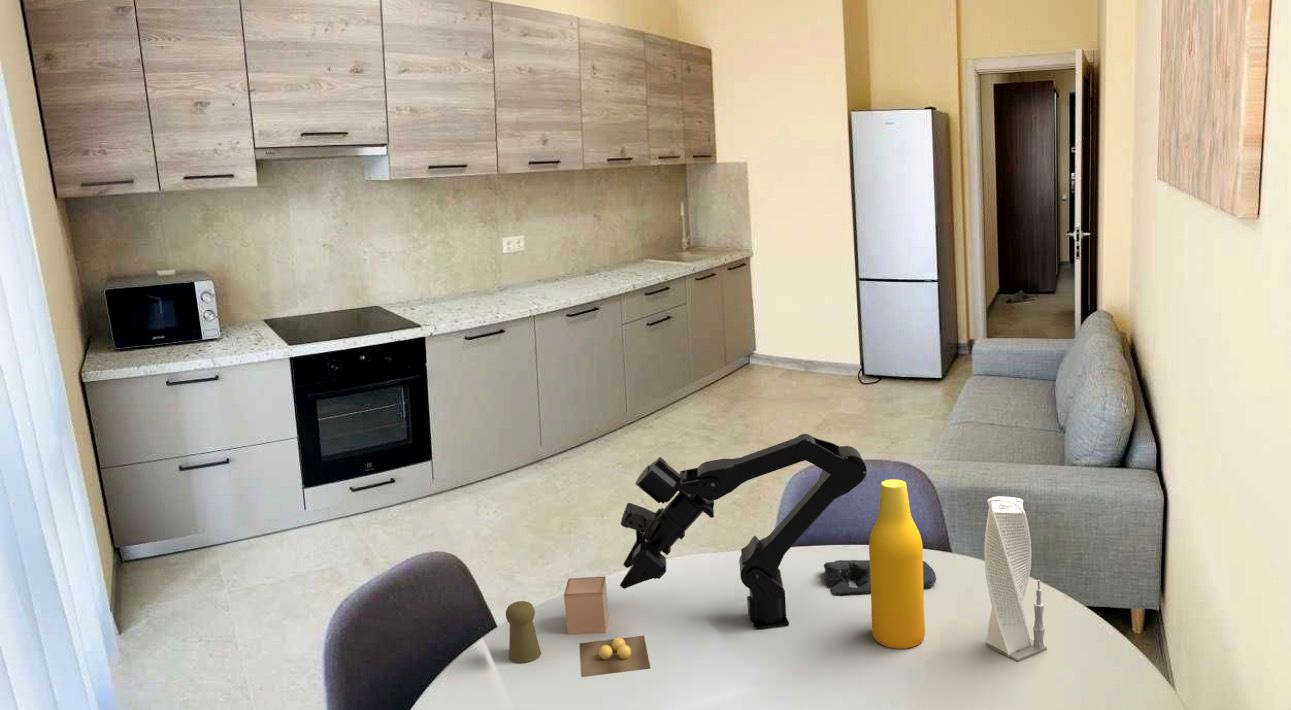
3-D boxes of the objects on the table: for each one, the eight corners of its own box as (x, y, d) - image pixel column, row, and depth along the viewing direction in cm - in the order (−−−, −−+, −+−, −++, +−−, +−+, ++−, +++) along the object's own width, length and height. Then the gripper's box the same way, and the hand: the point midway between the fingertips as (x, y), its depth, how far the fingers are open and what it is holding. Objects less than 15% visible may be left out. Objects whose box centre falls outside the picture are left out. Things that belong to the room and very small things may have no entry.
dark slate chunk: (941, 596, 187) (941, 574, 186) (826, 598, 190) (825, 576, 189) (928, 564, 201) (928, 542, 200) (822, 566, 204) (821, 545, 204)
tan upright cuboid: (609, 619, 187) (605, 576, 186) (606, 637, 180) (602, 592, 179) (572, 621, 188) (568, 578, 186) (568, 639, 181) (563, 595, 179)
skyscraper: (1011, 664, 160) (1010, 505, 154) (974, 644, 167) (972, 492, 161) (1046, 649, 164) (1047, 494, 158) (1009, 630, 171) (1008, 481, 165)
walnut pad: (644, 640, 178) (643, 635, 178) (651, 673, 166) (650, 668, 166) (580, 648, 177) (579, 643, 177) (582, 682, 165) (581, 676, 165)
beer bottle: (929, 628, 174) (925, 476, 168) (920, 653, 166) (916, 494, 160) (877, 621, 178) (872, 473, 172) (867, 645, 170) (861, 490, 164)
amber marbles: (623, 646, 175) (622, 633, 174) (633, 659, 170) (632, 646, 169) (594, 653, 173) (593, 640, 173) (604, 667, 168) (603, 654, 168)
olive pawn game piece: (536, 669, 171) (529, 612, 169) (504, 668, 172) (497, 611, 170) (546, 652, 177) (540, 597, 174) (515, 651, 178) (508, 596, 176)
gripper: (646, 474, 187) (595, 531, 190) (641, 508, 169) (585, 570, 172) (689, 510, 188) (638, 565, 191) (689, 547, 170) (633, 608, 173)
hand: (623, 576), depth 182 cm, fingers open, 9 cm apart
